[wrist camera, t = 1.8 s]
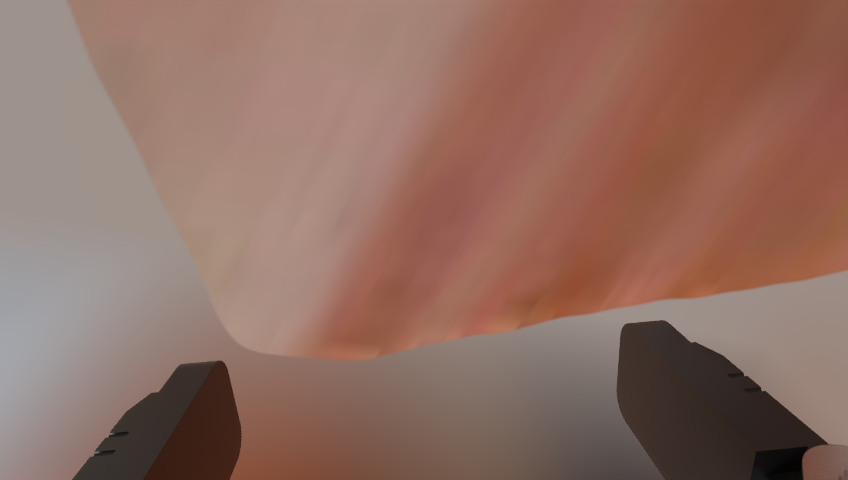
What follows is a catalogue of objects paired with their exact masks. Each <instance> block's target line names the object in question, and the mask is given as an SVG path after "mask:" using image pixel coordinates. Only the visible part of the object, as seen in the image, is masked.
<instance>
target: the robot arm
mask: <svg viewBox="0 0 848 480" xmlns="http://www.w3.org/2000/svg"><path fill="white" fill-rule="evenodd" d="M617 399H618V403H619V408H620V411H621V413H622V416H623V418H624V419H625V421H626V423H627V424H628V426H629V427H630V429H631V430H632V432H633V433H634V434H635V436H636V438H637V439H638V441H639V442H640V443H641V445H642V446H643V448H644V449H645V451H646V452H647V454H648V455H649V457H650V458H651V459H652V461H653V463H654V464H655V466H656V467H657V468H658V470H659V471H660V473H661V474H662V476H663V477H664V479H665V480H848V446H844V445H831V444H828V443H827V442H826V441H824V440H823V439H822V438H821V437H820V436H818V435H817V434H816V433H815V432H814V431H812V430H811V429H810V428H809V427H808V426H806V425H805V424H804V423H803V422H801V421H800V420H799V419H798V418H797V417H796V416H795V415H793V414H792V413H791V412H790V411H788V410H787V409H786V408H785V407H784V406H782V405H781V404H780V403H779V402H778V401H777V400H775V399H774V398H773V397H772V396H771V395H769V394H768V393H767V392H766V391H762V390H761V387H760V386H759V385H757V384H756V383H755V382H754V381H753V380H752V379H750V378H749V377H748V376H744V374H743V372H742V371H741V370H740V369H738V368H737V367H736V366H735V365H734V364H732V363H731V362H730V361H729V360H728V359H726V358H725V357H724V356H723V355H721V354H719V353H717V352H715V351H713V350H710V349H708V348H706V347H704V346H702V345H700V344H698V343H696V342H693V343H691V342H690V341H688V340H687V339H686V338H685V337H684V336H683V335H682V334H681V333H679V332H678V331H677V330H676V329H675V328H674V327H673V326H672V325H670V324H669V323H668V322H666V321H663V320H660V321H649V322H639V323H628V324H625V325H624V326H623V328H622V331H621V337H620V350H619V363H618V377H617ZM240 448H241V425H240V420H239V416H238V412H237V407H236V403H235V399H234V395H233V390H232V386H231V382H230V377H229V374H228V369H227V367H226V365H225V363H224V362H223V361H209V362H200V363H188V364H181V365H180V366H178V367H177V369H176V370H175V371H174V372H173V374H172V375H171V377H170V378H169V379H168V381H167V382H166V383H165V385H164V386H163V388H162V389H161V390H160V391H159V392H157V393H151V394H149V395H148V396H147V397H146V398H144V399H143V400H141V401H140V402H139V403H137V404H136V405H135V406H133V407H132V408H131V409H129V410H128V411H127V412H126V413H125V414H124V415H123V416H122V418H121V419H120V420H119V422H118V423H117V424H116V425H115V427H114V428H113V429H112V431H111V432H110V433H109V437H108V438H105V439H104V440H103V442H102V443H101V444H100V445H99V447H98V448H97V449H96V451H95V452H94V457H90V458H89V459H88V460H87V462H86V463H85V464H84V465H83V467H82V468H81V469H80V471H79V472H78V473H77V474H76V475H75V477H74V478H73V479H72V480H230V477H231V475H232V472H233V470H234V467H235V465H236V462H237V460H238V457H239V453H240Z"/></svg>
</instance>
